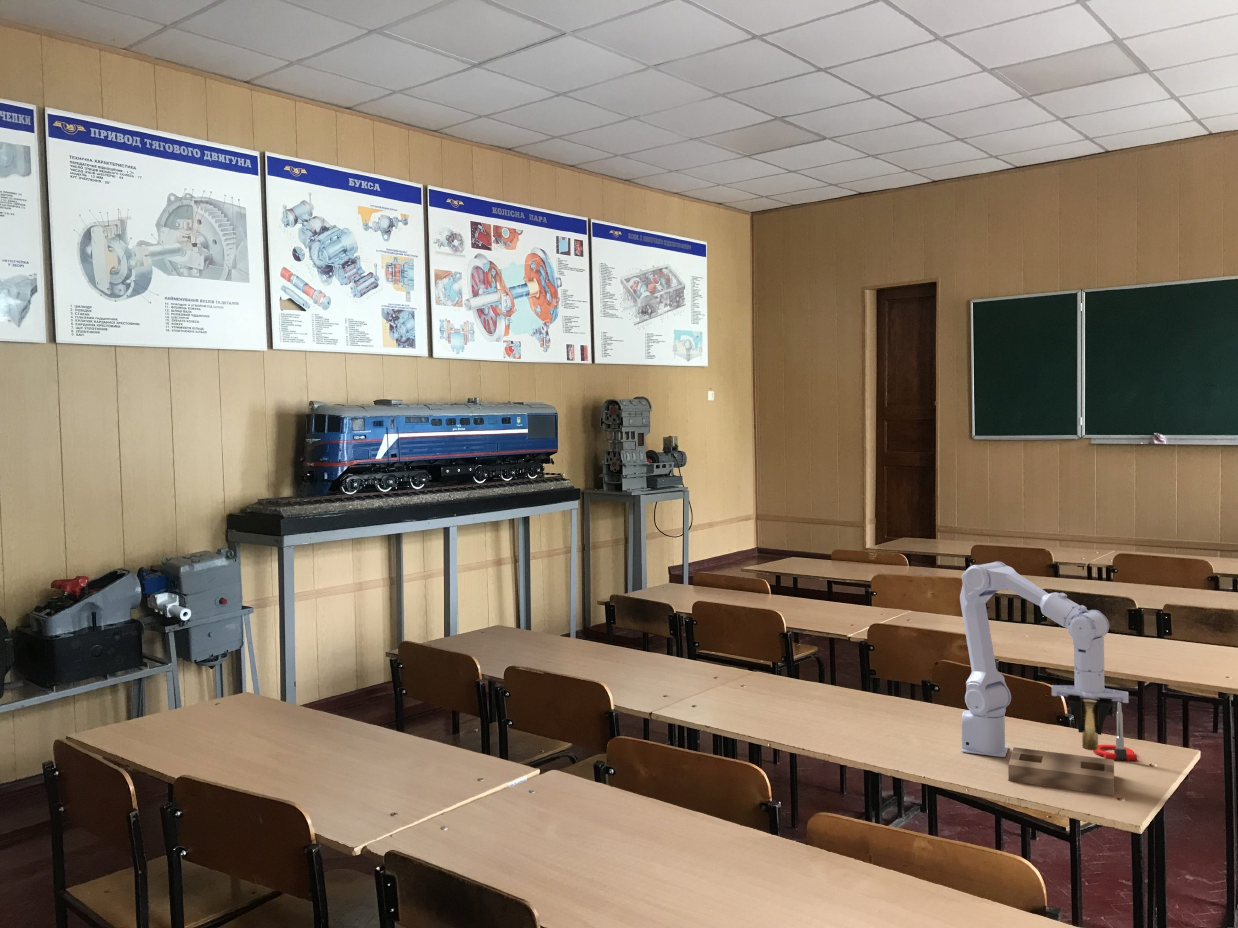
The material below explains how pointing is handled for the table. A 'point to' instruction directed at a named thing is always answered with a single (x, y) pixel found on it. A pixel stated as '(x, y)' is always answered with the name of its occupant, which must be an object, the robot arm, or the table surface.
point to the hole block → (1062, 770)
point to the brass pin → (1090, 724)
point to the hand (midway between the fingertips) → (1090, 732)
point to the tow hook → (1117, 744)
